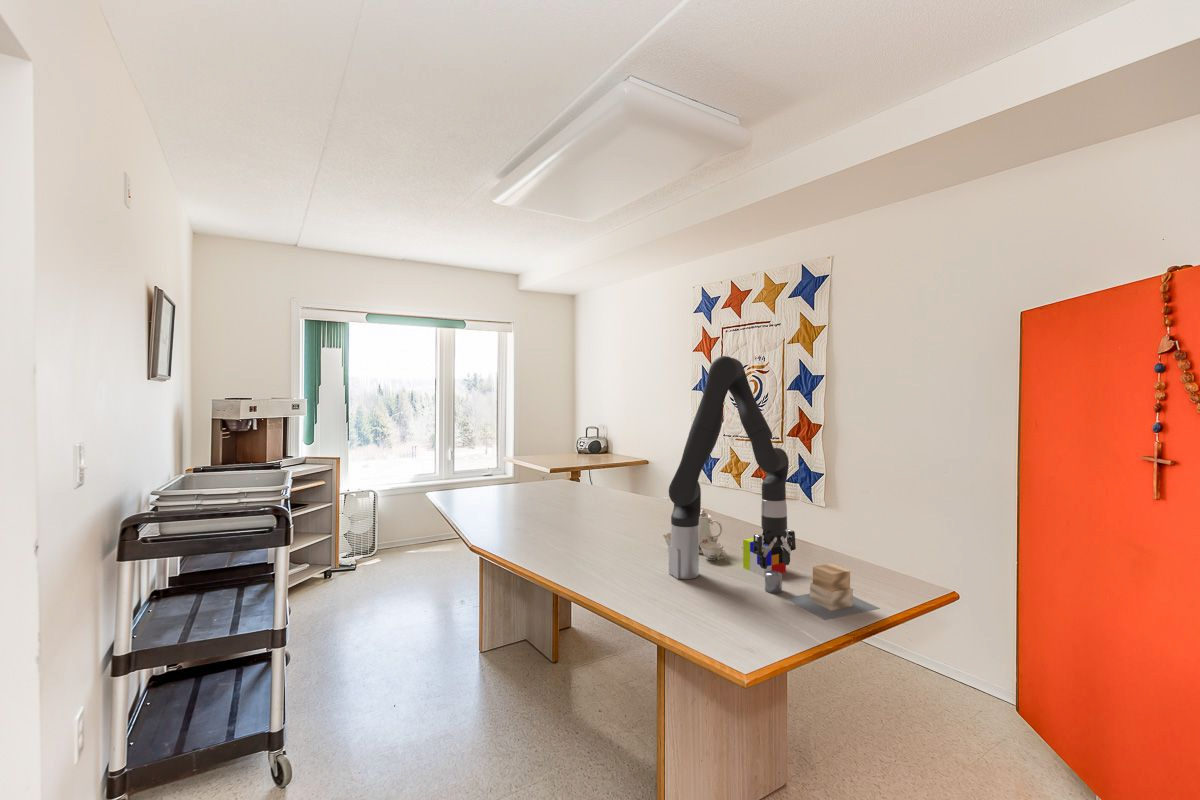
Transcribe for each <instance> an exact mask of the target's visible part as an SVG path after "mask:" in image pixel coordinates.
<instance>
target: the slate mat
mask: <svg viewBox="0 0 1200 800" xmlns="http://www.w3.org/2000/svg"><path fill="white" fill-rule="evenodd" d="M784 599H785V600H787V601H789V602H790V603H792V604H794V605H795V606H798V607H800V608H802V609H803V610H805V611H807V612H809V613H811V614H813V615H815V616H817V617H818V618H821V619H822V620H825V621H828V620H832V619H837V618H841V617H848V616H851V615H855V614H861V613H865V612H870V611H876V610H880V609H881V607H878V606H876V605H873V604H871V603H869V602H867V601H865V600H863V599H861V598H858V597H855V596H854V595H853V606H851V607H846V608H842V609H837V610H832V611H831V610H829V609H827V608H825V607H823V606H821V605H819V604H817V603H815V602H813V601H811V600H810V593H806V594H800V595H793V596H789V597H784Z"/></svg>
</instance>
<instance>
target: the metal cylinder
mask: <svg viewBox="0 0 1200 800" xmlns="http://www.w3.org/2000/svg"><path fill="white" fill-rule="evenodd" d="M782 573H783V572H782ZM782 573H780V572H778V571H766V572H765V576H764V591H765V592H766V593H768V594H772V595H780V594H782V592H783V574H782Z"/></svg>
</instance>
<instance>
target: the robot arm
mask: <svg viewBox="0 0 1200 800" xmlns="http://www.w3.org/2000/svg"><path fill="white" fill-rule="evenodd" d="M751 389H752V388H751V385H750V384H749V381H748V377H747V374H746V371H745V367H744V366H743V364H742V362H741V361H740V360H738V359H737V358H734V357H731V356H726V355H721V356H718V357H717V358H714V360H713V362H711V365H710V367H709V369H708V373H707V378H706V382H705V387H704V390H703V394H702V396H701V400H700V402H699V405H698V407H697V411H696V413H695V417H694V418H693V421H692V423H691V427H690V430H689V432H688V437H687V438H686V439H687V440H686V442H685V445H684V449H683V453H682V457H681V460H680V462H679V465H678V467H677V470H676V472H675V473H674V476H673V478H672V480H671V482H670V484H669V486H668V496H669V499H670V501H671V502H672V503H673V510H672V513H671V517H670V533H671V545H669V546H668V574H669V573H670V575H671V576H672V575H673V576H672V577H674V578H675V579H677V580H678V579H683V580H691V579H696V578H699V575H700V574H699V573H700V568H699V567H700V565H699V564H700V560H699V559H700V553H699V517H700V512H701V504H702V501H701V499H702V498H701V497H702V496H701V495H702V489H701V485H700V483H699V478H700V476H701V472H702V470H703V468H704V466H705V465H706V463H707V460H709V457H710V456H711V454H712V452H713V450H714V448H715V446H716V444H717V441H718V439H719V436H720V433H721V429H722V425H723V414H724V413H723V412H724V411H723V410H724V403H725V400H726V396H727V394H728V392H729V393H730V394H731V397H732V398H733V399H734V402H735V404H736V408H737V411H738V412H737V413H738V417H739V420H740V422H741V425H742V427H743V430H744V431H745V433H746V436H747V437H748V439H749V441H750V444H751V448H752V452H753V455H754V458H755V462H756V464H757V465H758V467H759V468H760V470H761V471H763V472H765V473H766V474H765V475H766V476H765V479H764V480H763V481H762V483H761V505H760V506H761V507H760V512H761V513H760V515H761V516H760V517H761V529H762V534H756V533H754V534H753V538H754V543H753V553H754V554H756V555H759V565H760V566H761V568H763V569H767V557H766V556H767V554H768V552H769V551H771V549H772V548H775V547H781V548H782V549H783V551H784V552H782V555H783V564H785V565H786V566H789V565H790V563H791V553H792V551H795V550H796V549H797V547H796V546H797V545H796V532H795V531H794V530H792V529H788V506H787V505H788V504H787V495H786V494H787V491H786V489H787V488H786V483H787V480H788V479H787V478H788V474H789V466H790V465H789V456H788V454H787V452H786V451H785V450H784V449H782V448H779V447H774V445H773V442H772V438H773V432H772V430H771V428H770V426H769V423H767V421H766V418H765V417H764V415H763V413H762V411H761V409H760V407H759V405H758V403H757V401H756V398H755V396H754V394H753V391H752V390H751ZM766 544H767V546H766ZM757 549H758V550H757ZM763 551H764V552H763Z"/></svg>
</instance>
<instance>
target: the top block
mask: <svg viewBox="0 0 1200 800" xmlns="http://www.w3.org/2000/svg"><path fill="white" fill-rule="evenodd" d="M812 583H813V584H815V585H817V586H819V587H821V588H823V589H826V590H828V591H830V592H834V591H839V590H845V589H850V588H851V571H850V570H848V569H846V568H843V567H841V566H838V565H836V564H833V563H827V564H821V565H816V566H815V565H813V566H812Z"/></svg>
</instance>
